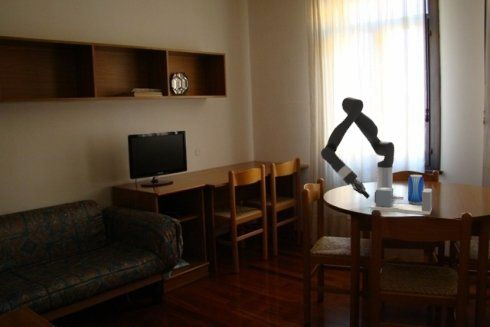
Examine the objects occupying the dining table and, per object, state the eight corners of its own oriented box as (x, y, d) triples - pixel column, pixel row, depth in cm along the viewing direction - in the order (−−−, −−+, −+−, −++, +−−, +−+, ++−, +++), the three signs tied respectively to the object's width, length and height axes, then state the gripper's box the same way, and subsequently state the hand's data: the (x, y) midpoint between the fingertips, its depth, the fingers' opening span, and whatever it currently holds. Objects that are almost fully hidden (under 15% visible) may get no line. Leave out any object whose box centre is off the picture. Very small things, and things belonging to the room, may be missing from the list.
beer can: (407, 200, 268) (408, 174, 265) (423, 201, 265) (423, 174, 262) (407, 204, 260) (408, 176, 258) (423, 204, 257) (423, 177, 255)
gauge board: (375, 204, 260) (375, 185, 258) (431, 209, 246) (432, 188, 245) (370, 209, 249) (371, 189, 248) (429, 214, 236) (430, 192, 234)
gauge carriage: (377, 202, 257) (377, 186, 256) (404, 204, 251) (404, 188, 249) (373, 206, 249) (373, 189, 248) (401, 208, 242) (401, 191, 241)
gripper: (348, 172, 252) (370, 195, 248) (354, 168, 263) (375, 190, 259) (339, 181, 255) (361, 204, 251) (345, 177, 266) (366, 199, 263)
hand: (368, 197), depth 255 cm, fingers closed
